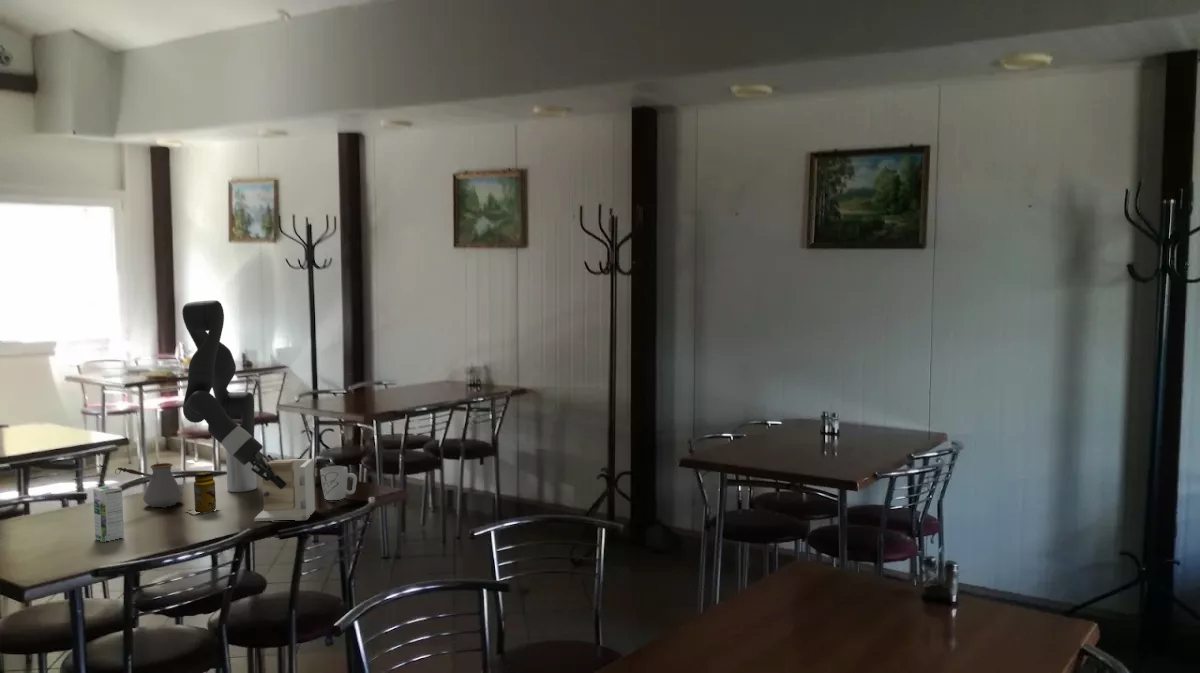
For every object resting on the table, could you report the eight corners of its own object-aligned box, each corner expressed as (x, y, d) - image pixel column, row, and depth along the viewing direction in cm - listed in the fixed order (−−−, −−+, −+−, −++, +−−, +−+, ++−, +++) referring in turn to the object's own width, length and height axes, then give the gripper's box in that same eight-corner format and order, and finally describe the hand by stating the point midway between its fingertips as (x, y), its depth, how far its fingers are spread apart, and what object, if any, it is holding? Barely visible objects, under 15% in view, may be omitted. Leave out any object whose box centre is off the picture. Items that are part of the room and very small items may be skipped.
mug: (360, 495, 307) (359, 465, 306) (354, 501, 299) (353, 470, 298) (325, 496, 307) (324, 466, 306) (318, 502, 298) (317, 471, 298)
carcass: (265, 511, 288) (263, 460, 287) (315, 509, 289) (313, 458, 288) (253, 523, 275) (250, 469, 273) (305, 521, 276) (303, 467, 275)
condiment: (221, 510, 291) (219, 472, 290) (193, 516, 285) (191, 477, 284) (211, 506, 296) (210, 469, 295) (184, 511, 290) (182, 473, 289)
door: (267, 507, 276) (265, 460, 275) (295, 506, 277) (293, 459, 276) (263, 511, 271) (261, 464, 270) (291, 510, 272) (289, 463, 271)
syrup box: (94, 539, 261) (91, 488, 260) (116, 534, 265) (113, 484, 264) (103, 543, 257) (100, 491, 256) (125, 538, 261) (122, 487, 260)
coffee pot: (166, 499, 307) (164, 453, 306) (191, 502, 301) (188, 456, 300) (106, 514, 288) (104, 466, 287) (131, 518, 283) (128, 469, 281)
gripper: (243, 440, 265) (289, 481, 267) (257, 431, 279) (300, 470, 281) (225, 459, 265) (270, 500, 267) (239, 450, 279) (283, 488, 281)
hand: (285, 484), depth 274 cm, fingers closed on door, 4 cm apart
